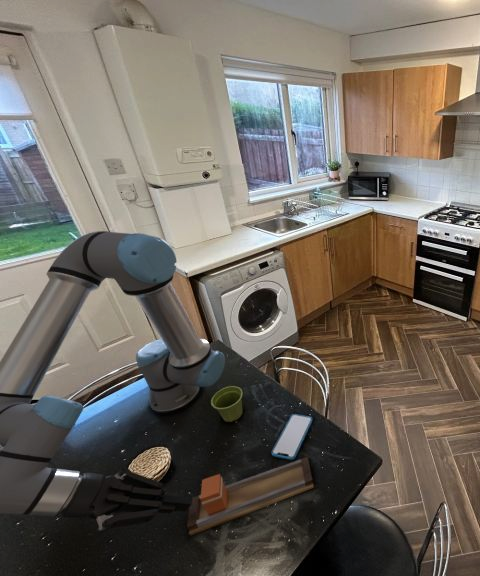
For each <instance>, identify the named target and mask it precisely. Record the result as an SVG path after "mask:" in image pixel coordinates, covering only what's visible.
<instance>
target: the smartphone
mask: <svg viewBox="0 0 480 576" xmlns="http://www.w3.org/2000/svg"><path fill="white" fill-rule="evenodd" d="M312 423H313V417H312V416H308V415H304V414H297V413H293V414H291V415H290V417H289V419H288V420H287V422H286V424H285V426H284V428H283V430H282V432H281V433H280V435H279V437H278V439H277V441H276V442H275V444H274V446H273V448H272V450H271V456H272V457H275V458H280V459H285V460H291V461H293V460H295V459H296V457H297V455H298V453H299V451H300V449H301V446H302V445H303V442H304V441H305V438H306V436H307V434H308V431H309V429H310V428H311V426H312Z"/></svg>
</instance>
